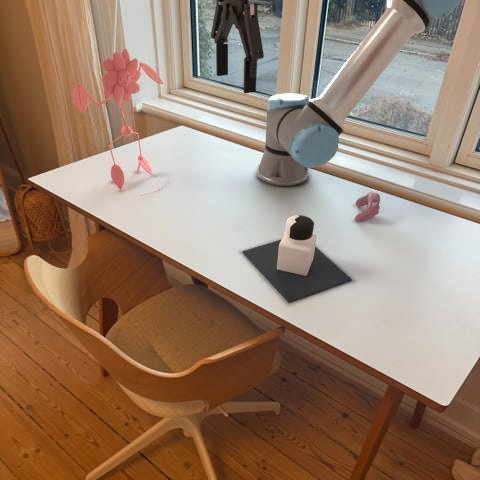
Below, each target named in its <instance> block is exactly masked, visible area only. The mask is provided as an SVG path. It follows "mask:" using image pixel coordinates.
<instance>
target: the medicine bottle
mask: <svg viewBox="0 0 480 480" xmlns="http://www.w3.org/2000/svg"><path fill="white" fill-rule="evenodd" d="M314 227H315V222H314V220H313V219H312V218H310V217H309V216H306V215H302V214H301V215H300V214H298V215H297V214H296V215H292V216H290V217H289V218H287V220H286V223H285V232H284V234H283V236H282V238H281V239H280V240H281V242H280V244H279V251H278V262H277V270H281V271H285V272H290V273H295V274H299V275H304V276H307V274H308V271H309V269H310V266H311V263H312V261H313V257H314V251H315V247H316V244H317V238H318V235H317V234H316V233H314Z"/></svg>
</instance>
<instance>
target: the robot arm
mask: <svg viewBox="0 0 480 480" xmlns="http://www.w3.org/2000/svg"><path fill="white" fill-rule="evenodd" d="M215 1H216V2H215V9H214V16H213V20H212V26H211V32H210V38H211V39H212V40H214V44H215V64H216V66H215V67H216V70H215V71H216V77H223V76H224V77H225V76H229V44H228V43H229V40H228V37H229V36H230V33H231V31H232V28H233V25H234V28H235V29H236V30H238V33H239V37H240V41H241V44H242V47H243V51H244V55H245V57H244V59H243V93H244V94H250V93H251V94H252V93H256V92H257V75H258V73H257V72H258V61H259V60H262V59H264V57H265V55H264V47H263V41H262V36H261V29H260V23H259V15H258V13H259V11H258V9H259V8H258V7H259V6H258V3H257V2H252V3H250V0H215ZM460 2H461V0H386V9H385V11H384V12H383V13H382V15H381V16H380V17H379V19H378V20H377V21H376V23H375V24H374V25H373V27H372V28H371V29H370V31H369V32H368V33H367V34H366V35H365V37H364V38H363V40H361V42H360V43H359V44H358V46H357V47H356V49H355V50H354V52H353V53H352V54H351V55H350V56H349V58H348V59H347V61H346V62H345V63H344V64H343V65H342V67H341V69H340V70H339V71H338V72H337V73H336V75H335V76H334V78H333V79H332V80H331V81H330V83H328V85H327V86H326V88H325V89H324V91H322V93H321V94H320V96H319V97H317V98H312V99H311V98H310V97H309V96H308V95H305V94H301V93H281V94H275V95H272V96H271V97H269V99H268V101H267V107H266V123H265V145H264V148H265V149H264V152H263V153H262V157H261V160H260V162H259V163H258V165H257V176H258V178H259V179H260V181H263V182H264V183H266V184H268V185H271V186H272V185H273V186H277V187H294V186H298V185H300V184H303V183H304V182H305V181H307V179H308V175H309V169H314V168H319V167H322V166H324V165H325V164H327V163H329V162H330V161H331V160H332V159H333V158H334V157H335V156H336V153H337V152H338V150H339V144H340V136H341V134H342V133H343V132H344V130H345V120H346V119H347V118H348V116H349V115H350V114H351V112H352V111H353V110H354V109H355V107H356V106H357V105H358V104H359V103H360V101H362V99H363V98H364V96H365V95H366V94H367V93H368V91H369V90H370V89H371V88H372V86H374V84H375V83H376V81H377V80H378V79H379V77H381V75H382V74H383V72H384V71H385V70H386V69H387V68H388V67H389V65H390V64H391V63H392V62H393V60H394V59H395V58H396V57H397V55H398V54H399V53H400V52H401V50H402V49H403V48H404V46H405V45H406V44H407V43H408V42H409V40H410V39H411V38H412V36H413V35H415V34H420V33H424V32H425V30H426V29H427V28H428V27H429V26H430V24H431V23H432V22H433V21H434V20H439V19H443V18H446V17H448V16H450V14H451V13H453V11H454V10H455V9H456V8H457V7H458V5H459V4H460Z"/></svg>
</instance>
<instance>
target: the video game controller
mask: <svg viewBox="0 0 480 480" xmlns="http://www.w3.org/2000/svg"><path fill="white" fill-rule="evenodd" d="M380 204H381V195H380V194H379V193H378V192H374V191H370V192H369V193H367V194H364V195H363V196H361V197H359V198H358V199H357V200H356V201H355V206H356V207H364V210H363V211H361V212H358V213H357V214H356V215H355V217H354V220H355V222H357V223H361V222H367V221H368V220H370V219H371V218H374V217H375V216H376V215H379V213H380V207H381V206H380Z"/></svg>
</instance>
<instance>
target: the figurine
mask: <svg viewBox="0 0 480 480" xmlns="http://www.w3.org/2000/svg"><path fill="white" fill-rule="evenodd" d="M102 67H103V69H104V70H105V73H104V75H103V76H102V78H101V82H102V84H103V85H104V87H103V95H104V97H105V99H103V100H102V101H101V102H98V101H96V100H95V98H93V97H92V96H91V95H90V94H89V92H87V89H85V87H84V86H83V85H81V83H80V82H76V85H75V86H73V88H72V92H71V98H72V101H73V104H74V106H75V107H76V109H77V110H78V111H79V112H80V113H81V114H83V113H84V112H85V111H86V109H87V107H88V105H89V99H90V100H91V101H92V102H93V103H94V104H95V105H96V106H97V107H100V106H101V105H103V104H105V103H107V102H109V100H111V99H112V98H113V99H114V102H115V104H116V105H118V109H119V112H120V115H121V117H122V120H123V122H124V125H123V126H122V128H121V135H120V136H119V137H117V138H115V139H114V140H112V141H111V142H110V143H109V144H108V147H109V151H110V155H111V159H112V162H113V165H112V166H111V168H110V178H111V180H112V183H113V184H114V185H115V186H116V187H117V189H118V190H119V191H121V190H122V188H123V186H124V184H125V173H124V171H123V169H122V168H121V166H120V165H118V164H116V161H115V158H114V154H113V150H112V147H111V146H112V145H113V144H114V143H115V142H117V141H118V140H119V139H121V138H122V137H123V136H124V137H130V136H131V135H132V134H134V135H136V136H137V142H138V148H139V154H138V156H137V160H138V164H137V169H136V173H137V174H138V173H139V172H140V167H141V168H142V169H143V170H144V171H145V172H146V173H147V174H149V175H154V173H153V170H152V168H151V165H150V163H149V161H148V160H147V159H146V158H145V157H144V156H143V155H142V149H141V142H140V135H139V132H135V131H133V130H132V128H131V127H130V126H129V125H128V124H127V121H126V120H127V119H126V118H125V115H124V111H123V108H122V105H121V104H122V102H123V101H125V102H126V103H129V102H130V101H131V99H132V95H135V94H138V93H139V92H140V89H141V87H140V85H139V83H137V81H139V79H140V78H141V69H142V71H144V73H145V74H146V75H147V76H148V77H149V78H150V79H151V80H152V81H153V82H154V83H158V84H160V85H164V82H163V80H162V79H161V77H160V76H159V74H158V73H157V72H156V70H155V69H154V68H153V67H152V66H150V65H148V64H147V63H146V62H145V63H144V62H141V61H140V62H139V60H138V58H136V57H135V58H132V59H131V55H130V53H129V51H128V49H127V48H124V49H122V51H121V53H119V52H117V51H116V52H113V54H112V58H105V59H103V61H102ZM167 184H169V182H167V183H166V184H165V185H164V186H162V187H161V188H159V189H157V190H155V191H152V192H150V193H145V194H141V195H139V196H140V197H142V196H143V197H144V196H147V195H150V194H153V193H156V192H159V191H161V190H163V189H164V188H165V187H166V186H167ZM94 188H96V190H97V187H96V186H94Z"/></svg>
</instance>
